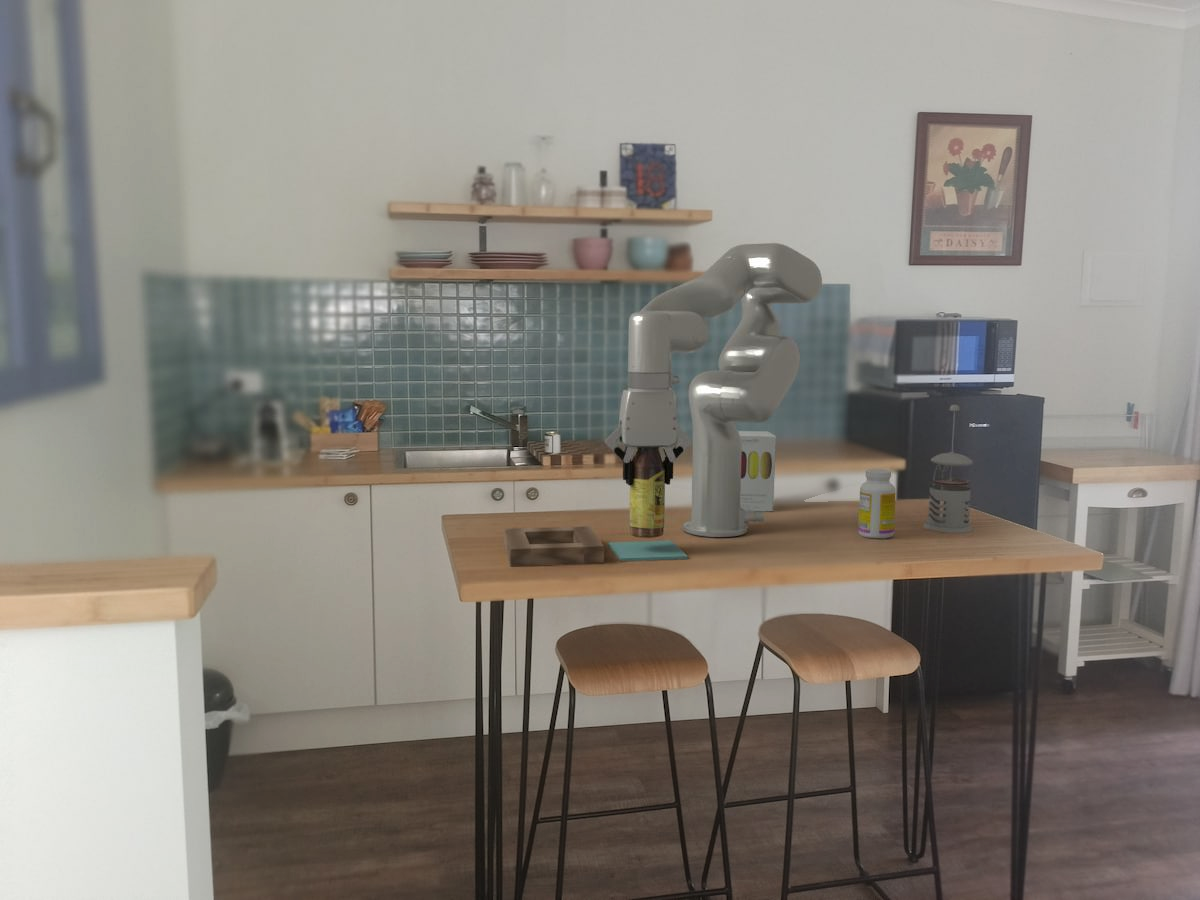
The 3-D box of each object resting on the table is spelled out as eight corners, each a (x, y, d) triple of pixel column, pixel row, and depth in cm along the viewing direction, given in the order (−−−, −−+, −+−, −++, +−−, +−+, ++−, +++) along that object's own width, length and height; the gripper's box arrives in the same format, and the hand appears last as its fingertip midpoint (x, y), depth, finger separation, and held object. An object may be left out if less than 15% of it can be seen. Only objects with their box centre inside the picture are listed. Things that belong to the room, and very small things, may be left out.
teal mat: (671, 543, 183) (671, 540, 183) (687, 558, 171) (687, 556, 171) (608, 545, 181) (608, 542, 181) (620, 561, 169) (620, 558, 169)
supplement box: (730, 512, 213) (732, 435, 210) (724, 503, 222) (725, 430, 219) (774, 512, 213) (777, 435, 211) (766, 503, 222) (768, 430, 220)
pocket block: (589, 541, 184) (589, 526, 183) (604, 563, 168) (604, 546, 167) (504, 544, 181) (504, 528, 181) (510, 566, 165) (510, 549, 165)
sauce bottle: (661, 540, 172) (663, 427, 169) (626, 538, 173) (627, 426, 170) (666, 532, 178) (668, 423, 176) (632, 530, 179) (633, 422, 177)
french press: (932, 532, 193) (939, 406, 190) (912, 520, 205) (918, 401, 202) (981, 532, 194) (989, 407, 190) (958, 520, 205) (965, 401, 202)
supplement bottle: (896, 534, 192) (899, 469, 190) (890, 541, 186) (894, 474, 184) (861, 530, 195) (864, 466, 193) (855, 537, 189) (857, 471, 187)
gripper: (691, 381, 177) (689, 479, 180) (597, 381, 174) (596, 481, 177) (702, 384, 170) (700, 486, 172) (604, 384, 167) (603, 488, 169)
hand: (647, 482), depth 174 cm, fingers closed on sauce bottle, 6 cm apart
